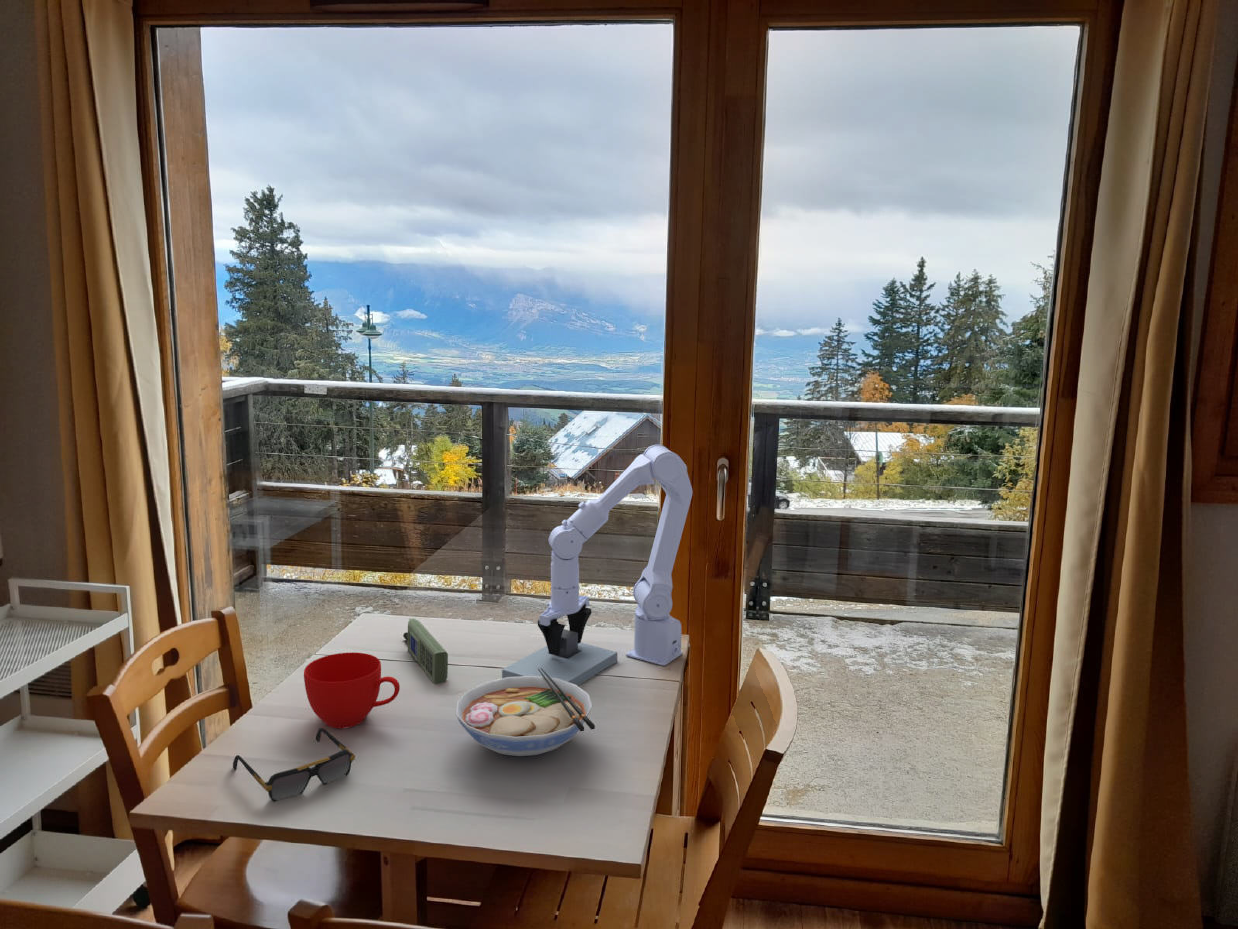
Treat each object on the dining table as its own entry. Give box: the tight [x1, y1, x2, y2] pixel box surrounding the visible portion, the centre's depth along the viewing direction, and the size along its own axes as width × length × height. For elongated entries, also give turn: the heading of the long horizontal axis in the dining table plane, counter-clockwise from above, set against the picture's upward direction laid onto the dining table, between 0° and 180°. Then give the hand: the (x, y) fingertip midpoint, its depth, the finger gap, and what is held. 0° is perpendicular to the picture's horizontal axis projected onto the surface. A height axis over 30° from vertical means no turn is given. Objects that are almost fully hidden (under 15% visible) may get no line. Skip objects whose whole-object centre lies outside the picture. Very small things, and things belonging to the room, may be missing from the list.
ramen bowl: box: [455, 668, 596, 757], centre depth 150 cm, size 25×23×8 cm
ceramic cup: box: [303, 651, 401, 729], centre depth 157 cm, size 13×17×10 cm
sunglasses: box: [232, 727, 356, 802], centre depth 141 cm, size 14×15×5 cm
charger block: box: [557, 628, 578, 659], centre depth 185 cm, size 4×4×6 cm
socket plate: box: [501, 642, 618, 687], centre depth 180 cm, size 14×20×2 cm
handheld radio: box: [403, 617, 449, 685], centre depth 184 cm, size 7×3×25 cm
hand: (565, 648), depth 185 cm, fingers open, 7 cm apart
